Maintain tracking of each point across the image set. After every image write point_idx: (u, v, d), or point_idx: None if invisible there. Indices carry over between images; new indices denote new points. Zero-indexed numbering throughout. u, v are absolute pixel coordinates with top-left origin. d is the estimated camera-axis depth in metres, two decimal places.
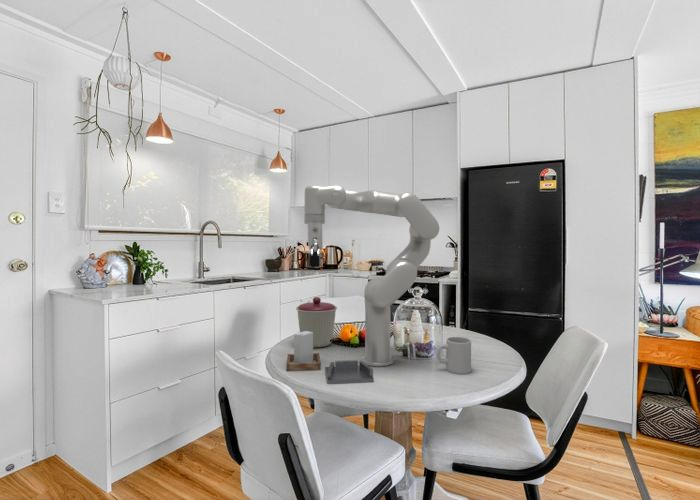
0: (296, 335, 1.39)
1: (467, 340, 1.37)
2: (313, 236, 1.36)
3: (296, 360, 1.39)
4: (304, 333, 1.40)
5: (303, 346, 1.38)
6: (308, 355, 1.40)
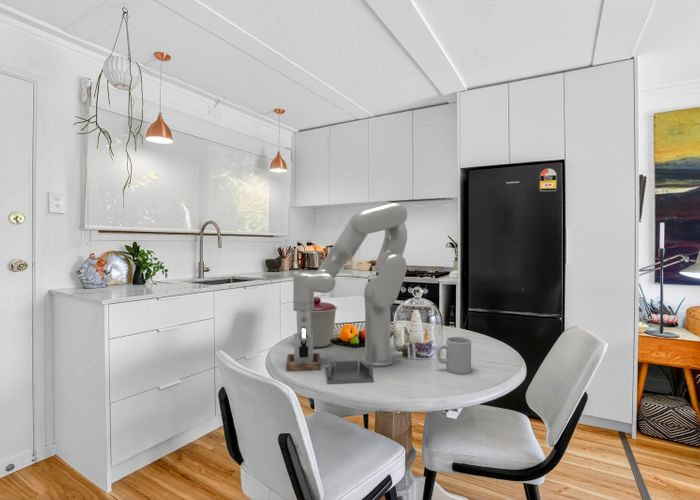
0: (296, 335, 1.39)
1: (467, 340, 1.37)
2: (302, 325, 1.36)
3: (296, 360, 1.39)
4: None
5: None
6: (308, 354, 1.40)
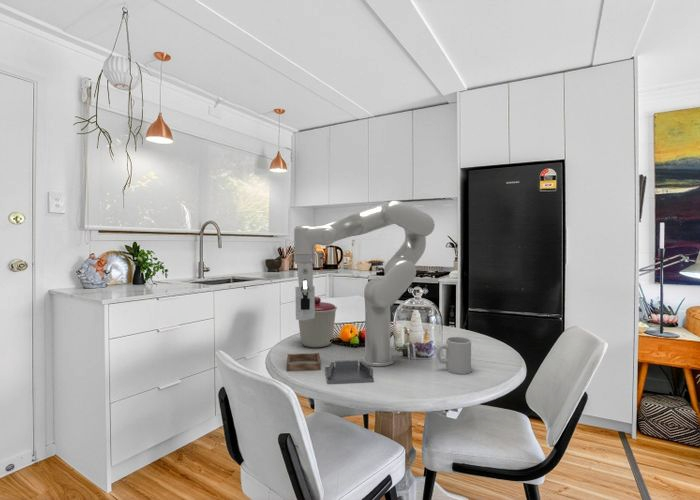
0: (297, 288, 1.38)
1: (467, 340, 1.37)
2: (303, 277, 1.35)
3: (297, 313, 1.39)
4: None
5: None
6: (310, 308, 1.39)
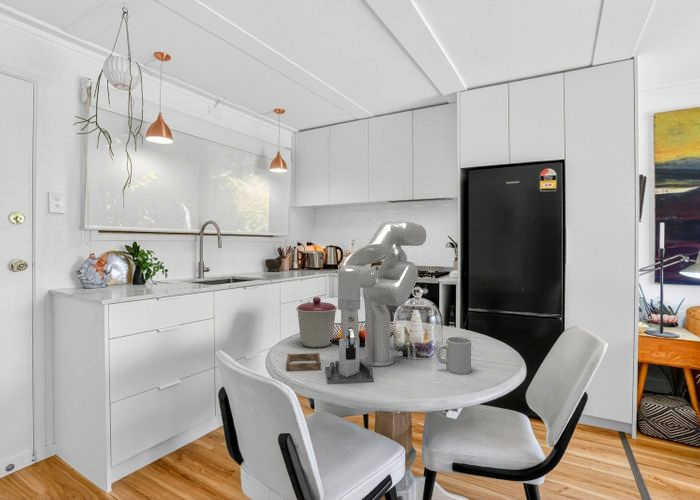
0: (341, 341, 1.27)
1: (467, 340, 1.37)
2: (349, 325, 1.24)
3: (341, 368, 1.27)
4: None
5: None
6: (354, 362, 1.28)
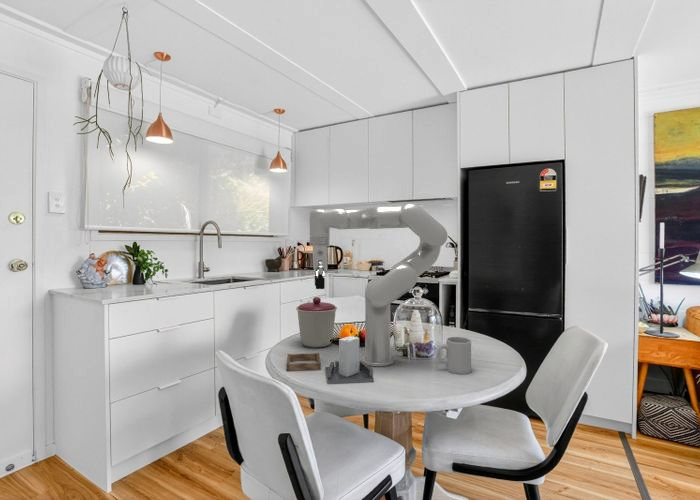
0: (341, 341, 1.27)
1: (467, 340, 1.37)
2: (319, 258, 1.40)
3: (341, 368, 1.27)
4: (350, 339, 1.27)
5: (349, 353, 1.26)
6: (354, 362, 1.28)
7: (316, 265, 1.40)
